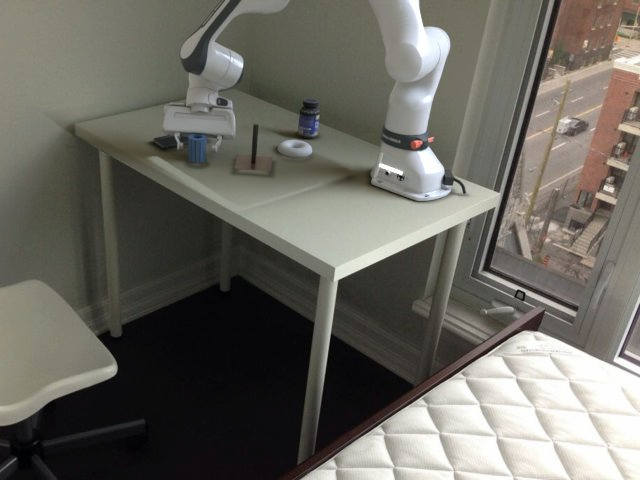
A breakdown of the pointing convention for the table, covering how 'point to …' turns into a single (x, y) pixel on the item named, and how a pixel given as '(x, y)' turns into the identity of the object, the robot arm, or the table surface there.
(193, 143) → the tube
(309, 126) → the pill bottle
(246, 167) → the dowel stand
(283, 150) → the donut
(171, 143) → the phone
